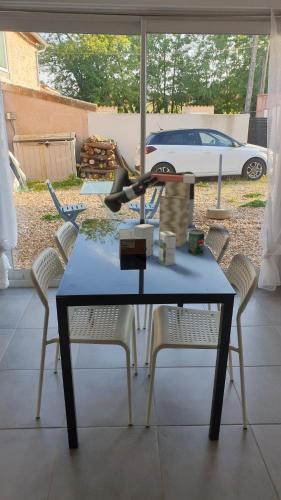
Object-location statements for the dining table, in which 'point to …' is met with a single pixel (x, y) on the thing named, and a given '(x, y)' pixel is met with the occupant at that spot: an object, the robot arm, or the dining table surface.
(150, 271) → the dining table surface
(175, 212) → the stand
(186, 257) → the dining table surface
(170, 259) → the syrup box
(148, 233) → the skincare box
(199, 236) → the canned tomato
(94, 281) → the dining table surface
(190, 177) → the block
